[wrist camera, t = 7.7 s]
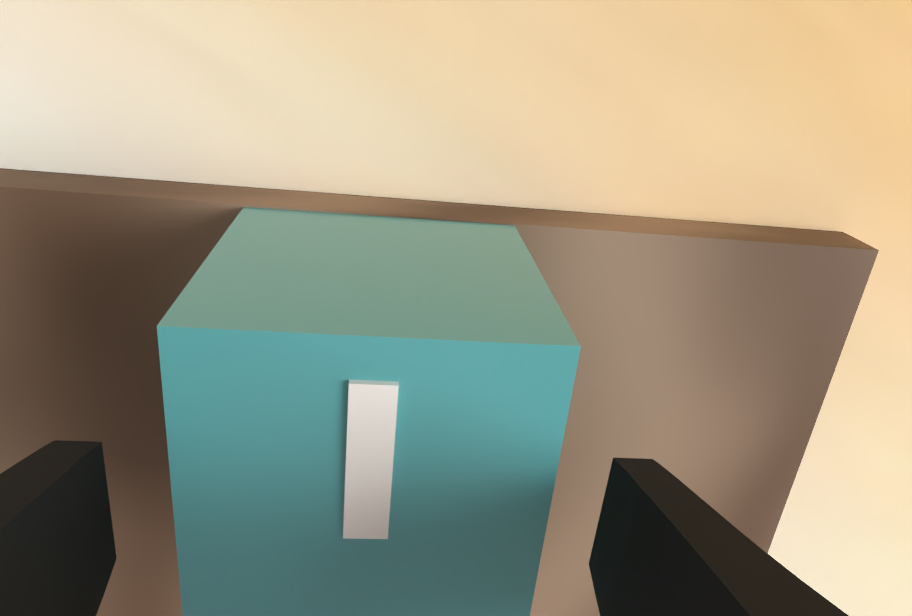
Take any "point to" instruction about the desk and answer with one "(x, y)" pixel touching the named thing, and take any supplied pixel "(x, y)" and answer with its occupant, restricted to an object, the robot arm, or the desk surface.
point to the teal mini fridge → (363, 417)
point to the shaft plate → (570, 281)
